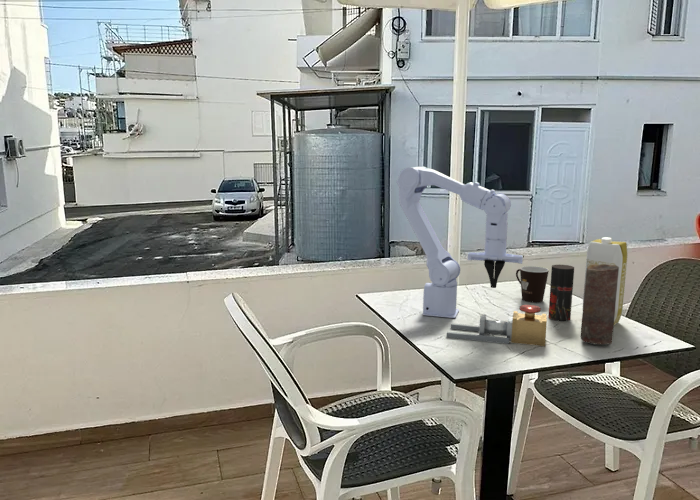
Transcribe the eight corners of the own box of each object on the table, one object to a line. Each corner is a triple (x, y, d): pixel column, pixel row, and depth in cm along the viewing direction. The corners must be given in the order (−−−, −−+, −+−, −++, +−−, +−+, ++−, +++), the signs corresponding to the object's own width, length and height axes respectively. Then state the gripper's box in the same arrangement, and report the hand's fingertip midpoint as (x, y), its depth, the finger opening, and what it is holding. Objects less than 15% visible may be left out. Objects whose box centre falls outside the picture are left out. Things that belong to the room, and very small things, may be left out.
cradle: (446, 337, 145) (446, 332, 145) (451, 327, 153) (451, 323, 153) (508, 343, 141) (509, 339, 140) (510, 333, 148) (510, 329, 148)
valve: (511, 342, 141) (513, 309, 140) (512, 334, 147) (514, 302, 146) (545, 346, 139) (547, 312, 137) (544, 338, 145) (547, 305, 143)
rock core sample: (609, 351, 136) (616, 269, 132) (577, 345, 140) (583, 266, 136) (614, 341, 142) (621, 263, 138) (582, 336, 146) (589, 260, 142)
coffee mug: (550, 303, 175) (552, 272, 174) (522, 303, 176) (524, 272, 174) (538, 293, 187) (540, 264, 185) (512, 293, 187) (514, 264, 185)
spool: (478, 338, 145) (479, 319, 144) (480, 332, 149) (481, 314, 148) (511, 341, 142) (512, 322, 141) (512, 335, 147) (513, 317, 146)
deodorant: (572, 322, 158) (576, 269, 155) (549, 320, 159) (553, 268, 156) (568, 315, 163) (572, 265, 161) (546, 314, 164) (550, 264, 162)
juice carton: (578, 321, 158) (585, 236, 153) (589, 315, 164) (596, 233, 159) (613, 329, 152) (621, 241, 147) (623, 322, 157) (631, 237, 153)
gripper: (467, 239, 152) (465, 288, 155) (523, 242, 148) (520, 292, 150) (470, 235, 159) (468, 282, 161) (524, 238, 154) (521, 286, 157)
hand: (493, 287), depth 156 cm, fingers closed
